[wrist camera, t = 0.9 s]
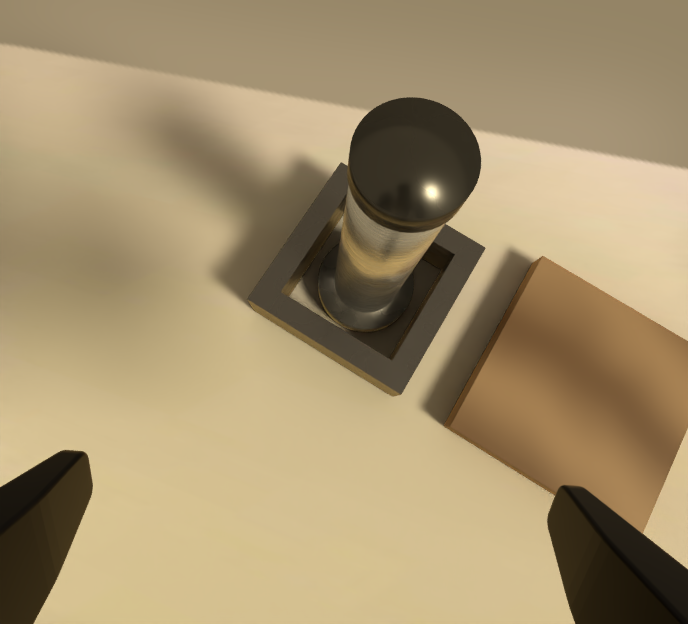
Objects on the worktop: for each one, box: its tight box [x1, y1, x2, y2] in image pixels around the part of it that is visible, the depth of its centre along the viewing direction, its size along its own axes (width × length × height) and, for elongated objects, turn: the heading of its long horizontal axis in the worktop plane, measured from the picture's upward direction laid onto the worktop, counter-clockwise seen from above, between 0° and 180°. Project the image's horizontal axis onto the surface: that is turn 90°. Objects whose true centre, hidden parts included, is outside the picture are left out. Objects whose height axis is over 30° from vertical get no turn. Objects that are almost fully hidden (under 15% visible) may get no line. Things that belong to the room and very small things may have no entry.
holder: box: [247, 162, 485, 396], centre depth 24 cm, size 8×8×2 cm
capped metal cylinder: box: [318, 98, 481, 332], centre depth 19 cm, size 5×5×13 cm
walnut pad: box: [444, 256, 688, 534], centre depth 24 cm, size 10×10×1 cm
